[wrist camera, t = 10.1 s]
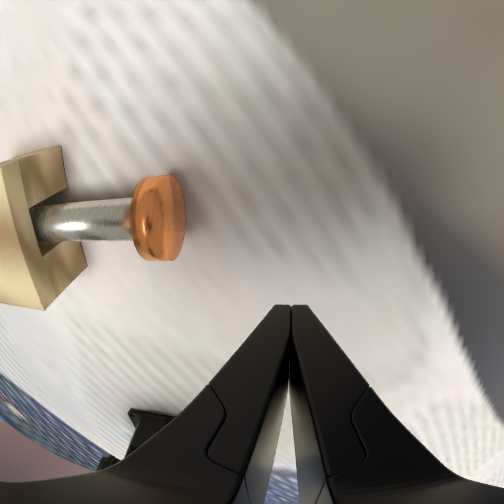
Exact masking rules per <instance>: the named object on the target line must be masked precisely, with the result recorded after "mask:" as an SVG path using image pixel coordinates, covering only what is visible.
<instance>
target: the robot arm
mask: <svg viewBox="0 0 504 504" xmlns="http://www.w3.org/2000/svg"><path fill="white" fill-rule="evenodd" d="M289 364H290V367H289ZM288 384H289V393H290V403H291V414H292V424H293V434H294V445H295V456H296V468H297V479H298V491H299V504H504V488H501V487H496V486H492V485H488V484H484V483H480V482H476V481H472V480H468V479H465V478H463V477H461V476H459V475H457V474H455V473H454V472H452V471H451V470H449V469H448V468H447V467H445V466H444V465H443V464H442V463H441V462H440V461H439V460H438V459H437V458H436V457H435V456H434V455H433V454H432V453H431V452H430V451H429V450H428V449H427V448H426V447H425V446H424V445H423V444H422V443H421V442H420V441H419V440H418V439H417V438H416V437H415V436H414V435H413V434H412V433H411V432H410V431H409V430H408V429H407V428H406V427H405V426H404V425H403V424H402V423H401V422H400V421H399V420H398V419H397V418H396V417H395V416H394V415H393V414H392V413H391V411H390V410H389V409H388V408H387V406H386V405H385V404H384V403H383V402H382V400H381V399H380V398H379V397H378V395H377V394H376V393H375V391H374V390H373V389H372V388H371V387H369V384H368V382H367V381H366V380H365V379H364V377H363V376H362V375H361V373H360V372H359V371H358V369H357V368H356V367H355V366H354V364H353V363H352V362H351V360H350V359H349V358H348V357H347V355H346V354H345V353H344V351H343V350H342V349H341V347H340V346H339V345H338V344H337V342H336V341H335V340H334V338H333V337H332V336H331V335H330V333H329V332H328V331H327V329H326V328H325V327H324V326H323V324H322V323H321V322H320V320H319V319H318V318H317V317H316V315H315V314H314V313H313V311H312V310H311V309H310V308H309V306H307V305H292V307H291V306H290V305H274V306H273V308H272V309H271V310H270V311H269V312H268V314H267V315H266V316H265V317H264V319H263V320H262V321H261V322H260V323H259V325H258V326H257V327H256V328H255V329H254V331H253V332H252V333H251V334H250V335H249V337H248V338H247V339H246V340H245V341H244V343H243V344H242V345H241V346H240V347H239V348H238V350H237V351H236V352H235V353H234V354H233V355H232V357H231V358H230V359H229V360H228V361H227V362H226V364H225V365H224V366H223V367H222V368H221V369H220V371H219V372H218V373H217V374H216V375H215V376H214V377H213V379H212V380H211V381H210V382H209V385H206V386H205V387H204V389H203V390H202V391H201V392H200V393H199V394H198V395H197V396H196V397H195V399H194V400H193V401H192V402H191V403H190V404H189V405H188V406H187V407H186V408H185V409H184V410H183V411H182V412H181V413H179V414H178V415H177V416H176V417H175V418H174V417H168V416H162V415H156V414H151V413H145V412H140V411H135V410H129V412H128V415H129V417H130V419H131V421H132V422H133V424H134V426H135V428H136V429H135V432H134V434H133V437H132V439H131V441H130V444H129V447H128V450H127V452H126V455H125V457H124V459H123V460H119V459H117V458H115V456H112V455H110V456H109V458H108V457H102V459H101V461H100V463H99V466H98V468H97V470H96V472H91V473H86V474H79V475H73V476H68V477H60V478H52V479H45V480H36V481H24V482H6V481H0V504H264V500H265V496H266V492H267V488H268V483H269V479H270V475H271V470H272V466H273V461H274V457H275V452H276V448H277V443H278V438H279V433H280V428H281V423H282V418H283V413H284V408H285V403H286V398H287V392H288Z"/></svg>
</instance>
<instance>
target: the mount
mask: <svg viewBox="0 0 504 504" xmlns="http://www.w3.org/2000/svg"><path fill="white" fill-rule="evenodd" d="M65 188H67V182H66V176H65V171H64V165H63V159H62V152H61V146H56V147H52V148H48V149H44V150H40V151H36V152H33V153H29V154H25V155H22V156H18V157H15V158H12V159H9V160H6V161H4V162H1V163H0V303H3V304H8V305H13V306H19V307H25V308H30V309H36V310H42V311H45V310H46V308H47V307H48V306H49V305H50V304H51V303H52V302H53V301H54V300H55V299H56V298H57V297H58V296H59V295H60V294H61V293H62V292H63V290H64V289H65V288H66V287H67V286H68V285H69V284H70V283H71V282H72V281H73V280H74V279H75V278H76V277H77V276H78V275H79V274H80V273H81V272H82V271H83V270H84V269H85V268H86V267H87V264H86V261H85V258H84V254H83V250H82V247H81V243H80V241H71V242H37V239H36V236H35V232H34V229H33V225H32V221H31V217H30V213H29V208H31V207H32V206H34V205H36V204H38V203H39V202H41V201H43V200H45V199H47V198H48V197H50V196H52V195H54V194H56V193H58V192H59V191H61V190H63V189H65Z"/></svg>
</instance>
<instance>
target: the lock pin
mask: <svg viewBox="0 0 504 504" xmlns="http://www.w3.org/2000/svg"><path fill="white" fill-rule="evenodd" d="M29 213H30V217H31V221H32V225H33V229H34V232H35V236H36V239H37V242H71V241H133V242H134V245H135V247H136V250H137V251H138V253H139V255H140V256H141V257H142V258H143V259H145V260H148V261H173V260H175V259H176V258H177V256H178V255H179V253H180V251H181V248H182V244H183V240H184V233H185V205H184V198H183V194H182V190H181V187H180V185H179V182H178V181H177V179H176V178H175V177H174V176H172V175H161V176H149V177H144V178H143V179H141V180H140V182H139V183H138V184H137V186H136V188H135V191H134V194H133V197H132V198H120V199H107V200H95V201H84V202H74V203H64V204H54V205H45V206H37V207H31V208H29Z"/></svg>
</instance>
